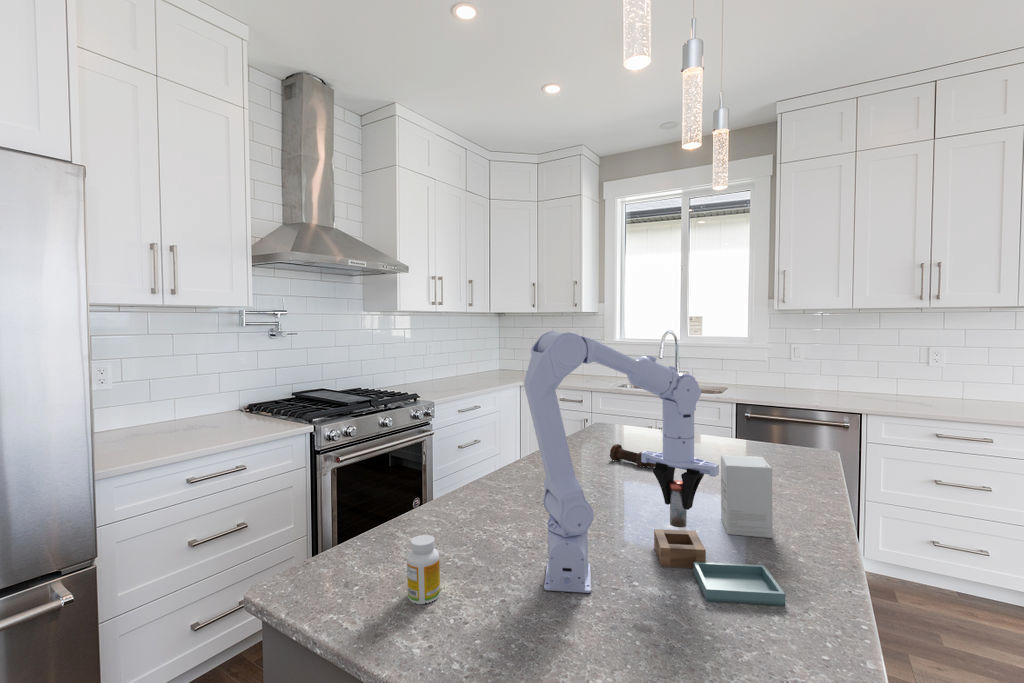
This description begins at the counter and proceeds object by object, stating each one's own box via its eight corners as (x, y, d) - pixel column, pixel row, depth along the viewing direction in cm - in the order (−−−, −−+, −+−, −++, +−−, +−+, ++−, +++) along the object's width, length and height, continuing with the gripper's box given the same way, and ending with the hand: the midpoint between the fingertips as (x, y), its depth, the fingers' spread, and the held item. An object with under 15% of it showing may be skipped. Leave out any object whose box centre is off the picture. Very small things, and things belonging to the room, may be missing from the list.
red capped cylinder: (689, 528, 90) (689, 485, 90) (670, 527, 91) (670, 484, 91) (685, 522, 94) (685, 480, 94) (667, 521, 94) (667, 479, 94)
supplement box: (763, 521, 109) (763, 455, 108) (773, 539, 100) (773, 467, 99) (720, 517, 111) (720, 453, 110) (726, 534, 102) (726, 465, 102)
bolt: (653, 475, 148) (612, 463, 158) (661, 464, 150) (620, 453, 161) (648, 461, 145) (607, 450, 156) (656, 450, 148) (615, 440, 159)
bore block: (705, 569, 88) (705, 549, 88) (660, 566, 90) (660, 547, 89) (695, 548, 96) (695, 530, 96) (654, 546, 98) (654, 529, 97)
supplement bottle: (442, 586, 84) (440, 532, 84) (438, 604, 79) (436, 546, 78) (411, 587, 84) (409, 533, 84) (405, 606, 79) (403, 547, 78)
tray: (785, 606, 77) (785, 593, 77) (706, 601, 78) (706, 589, 78) (763, 576, 86) (763, 565, 86) (693, 572, 87) (693, 561, 87)
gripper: (725, 437, 90) (725, 508, 91) (652, 426, 100) (653, 491, 100) (710, 444, 85) (710, 520, 85) (635, 432, 95) (636, 500, 95)
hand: (678, 505), depth 93 cm, fingers closed on red capped cylinder, 3 cm apart
